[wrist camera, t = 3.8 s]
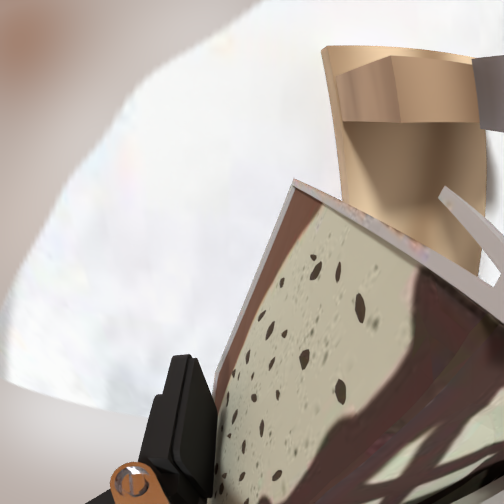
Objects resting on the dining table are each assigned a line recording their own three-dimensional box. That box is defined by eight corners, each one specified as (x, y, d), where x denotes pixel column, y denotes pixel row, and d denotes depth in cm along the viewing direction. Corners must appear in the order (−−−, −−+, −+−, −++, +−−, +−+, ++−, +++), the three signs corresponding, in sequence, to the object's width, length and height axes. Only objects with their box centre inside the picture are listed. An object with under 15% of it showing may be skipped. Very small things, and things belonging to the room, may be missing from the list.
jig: (465, 59, 12) (541, 52, 6) (450, 356, 20) (488, 407, 15) (320, 50, 12) (375, 11, 6) (346, 391, 20) (372, 457, 15)
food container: (317, 412, 15) (345, 580, 6) (207, 390, 15) (185, 583, 5) (444, 204, 11) (642, 353, 2) (309, 138, 10) (603, 273, 1)
